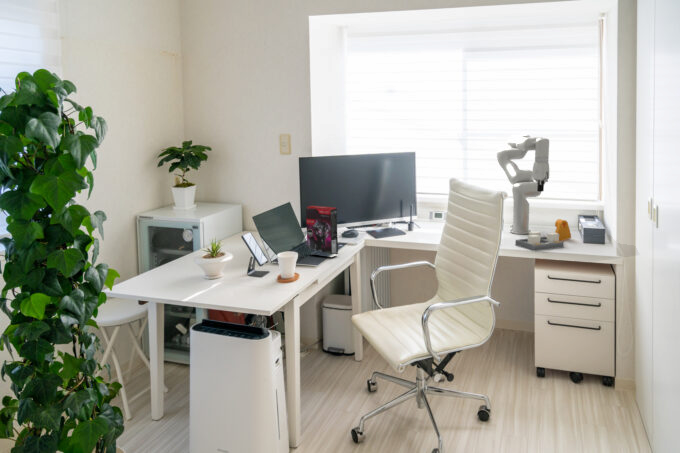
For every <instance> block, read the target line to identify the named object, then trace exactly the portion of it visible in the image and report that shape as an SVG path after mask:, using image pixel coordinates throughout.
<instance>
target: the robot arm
mask: <svg viewBox="0 0 680 453" xmlns="http://www.w3.org/2000/svg"><path fill="white" fill-rule="evenodd" d="M507 144H508V146H502V147H499V149H497V152H496V158H497V162H498V164H499V166H500V167H501V169H502V170H503V171H504V173H505V175H506V177H507V180H508V181H509V183H510V184H511V185H512V188H511V189H512V190H511V191H512V198H513V200H512V201H513V207H512V208H513V209H512V211H513V214H512V224H510V228H511V229H510V230H509V232H510V234H515V235H529V232H532V230H530V228H529V227H530V224H529V223H530V202H529V201H528V200H527V198H536V197H537V198H538V197H540V196H541V194H542V192H544V186H545V184H546V183H548V181H549V179H550V163H549V160H550V158H549V157H550V139H549V138H545V137H539V136H536V137H532V136H530V135H529V134H513V135H511V136H509V137H508V139H507ZM529 151H534V162H533V164H532V170H531V169H520V168H519V166H518V165H517V164H516V163H515V162H514V161H515V160H522V159H524V158H525V157H526V155H527V153H528V152H529ZM512 160H513V161H512Z"/></svg>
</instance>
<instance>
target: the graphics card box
mask: <svg viewBox="0 0 680 453" xmlns="http://www.w3.org/2000/svg"><path fill="white" fill-rule="evenodd" d="M305 219H306V220H305V221H306V224H305V225H306V249H307V248H308V249H312V250H316V251H320V252H325V253H329V254H338V255H339V244H338V238H339V237H338V208H337V207H330V206H322V205H321V206H320V205H309V206H307V207H305Z"/></svg>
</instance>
